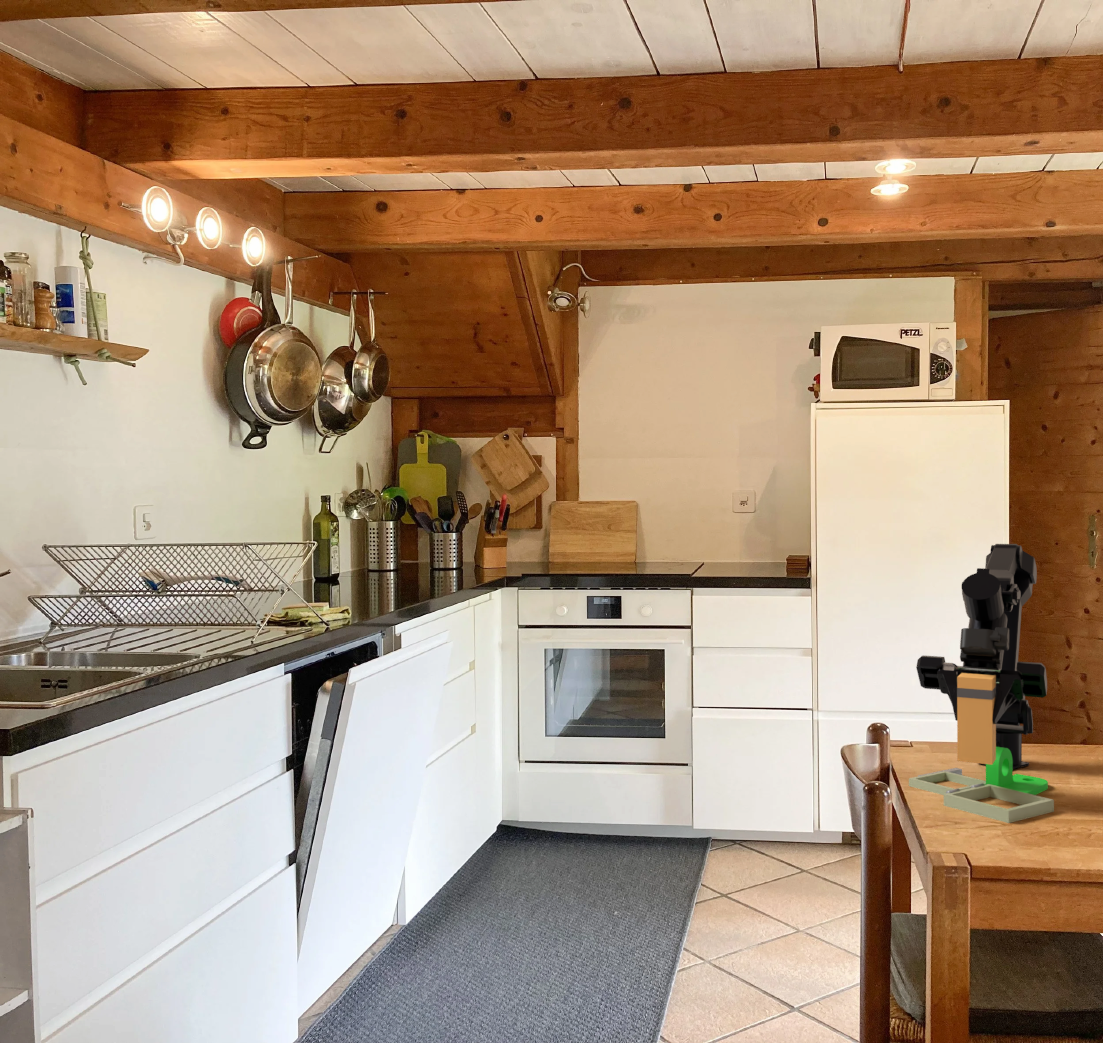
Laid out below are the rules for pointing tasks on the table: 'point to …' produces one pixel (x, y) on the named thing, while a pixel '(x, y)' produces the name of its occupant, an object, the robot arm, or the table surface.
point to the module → (976, 718)
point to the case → (1028, 808)
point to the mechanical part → (1003, 775)
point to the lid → (928, 780)
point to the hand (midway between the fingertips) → (975, 720)
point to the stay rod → (953, 770)
